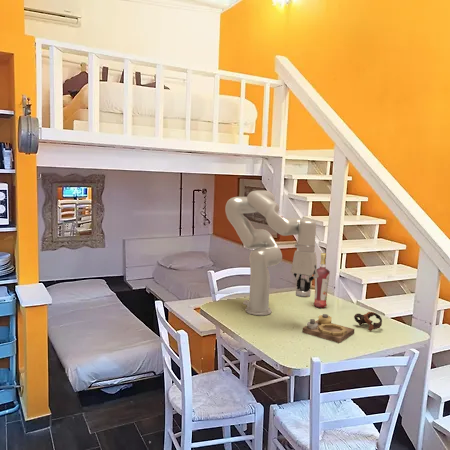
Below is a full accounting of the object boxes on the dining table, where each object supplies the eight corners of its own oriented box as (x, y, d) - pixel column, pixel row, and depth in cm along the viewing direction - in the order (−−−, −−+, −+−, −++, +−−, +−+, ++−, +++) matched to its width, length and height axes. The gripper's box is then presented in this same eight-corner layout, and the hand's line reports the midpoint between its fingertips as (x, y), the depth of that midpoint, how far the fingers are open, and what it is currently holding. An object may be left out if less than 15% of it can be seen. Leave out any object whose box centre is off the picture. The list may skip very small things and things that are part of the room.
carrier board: (302, 332, 187) (303, 318, 187) (318, 323, 199) (319, 311, 198) (339, 343, 177) (340, 328, 176) (354, 333, 188) (355, 320, 188)
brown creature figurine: (376, 325, 202) (383, 313, 197) (376, 340, 194) (384, 328, 189) (351, 316, 203) (357, 304, 198) (350, 331, 196) (356, 319, 191)
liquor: (324, 309, 220) (327, 255, 217) (310, 307, 225) (314, 253, 221) (329, 306, 227) (333, 253, 223) (316, 303, 231) (319, 251, 227)
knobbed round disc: (292, 295, 192) (293, 278, 191) (300, 292, 197) (301, 276, 196) (305, 298, 188) (306, 281, 187) (312, 295, 193) (313, 279, 192)
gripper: (285, 246, 192) (282, 287, 195) (319, 252, 182) (316, 295, 184) (293, 245, 198) (291, 284, 200) (327, 250, 188) (324, 291, 190)
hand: (303, 289), depth 192 cm, fingers closed on knobbed round disc, 3 cm apart
